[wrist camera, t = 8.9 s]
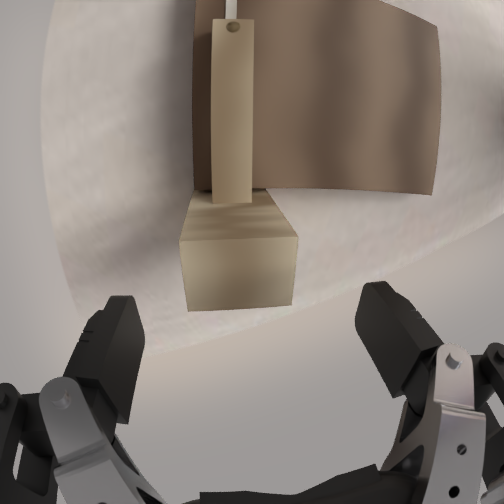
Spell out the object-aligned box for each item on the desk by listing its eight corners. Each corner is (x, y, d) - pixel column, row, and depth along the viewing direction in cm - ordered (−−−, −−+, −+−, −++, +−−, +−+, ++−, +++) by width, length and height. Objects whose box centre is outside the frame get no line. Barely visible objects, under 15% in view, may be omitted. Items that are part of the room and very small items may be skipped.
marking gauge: (266, 39, 13) (304, -15, 6) (262, 232, 19) (291, 305, 12) (193, 39, 12) (177, -19, 5) (197, 235, 18) (187, 311, 11)
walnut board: (421, 30, 13) (437, 26, 11) (416, 188, 19) (432, 195, 17) (199, -13, 11) (198, -27, 9) (196, 182, 17) (194, 190, 15)
